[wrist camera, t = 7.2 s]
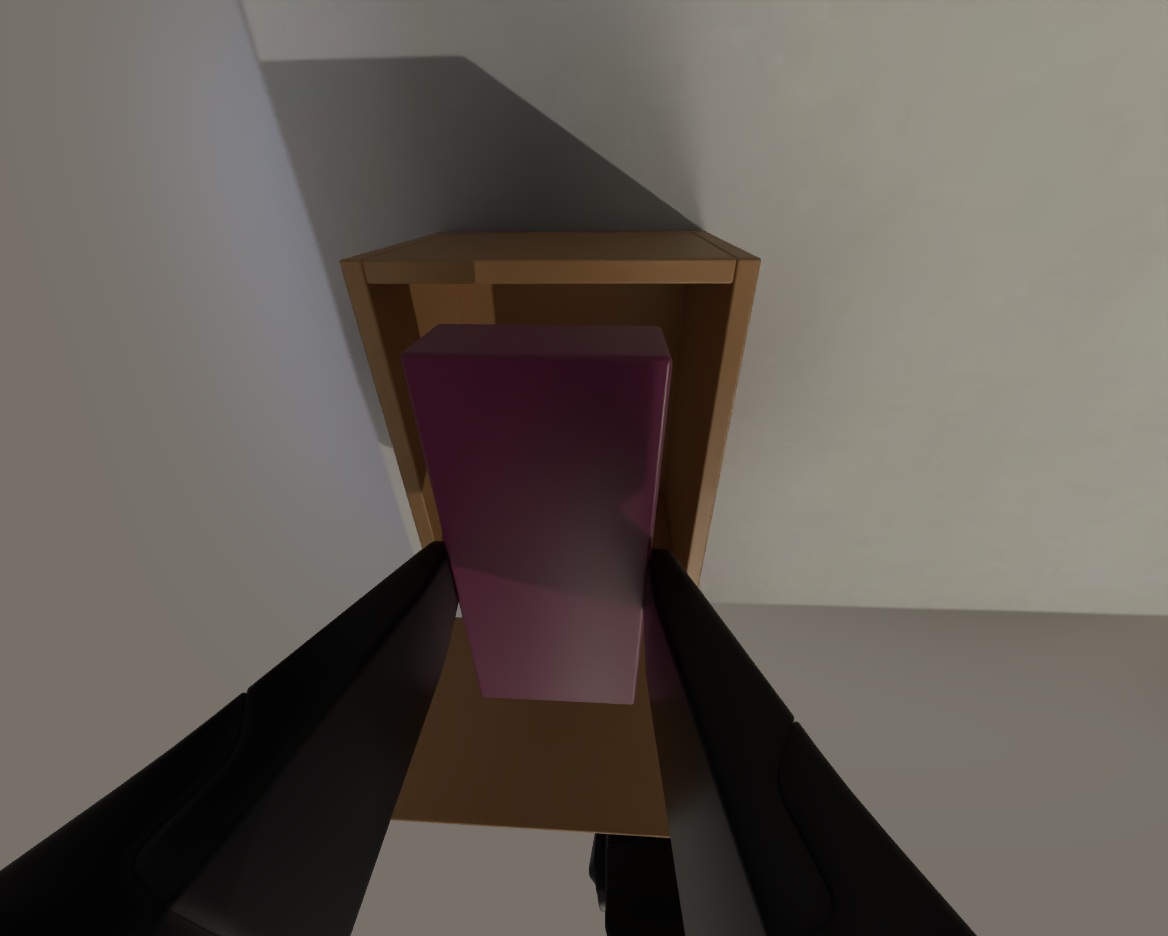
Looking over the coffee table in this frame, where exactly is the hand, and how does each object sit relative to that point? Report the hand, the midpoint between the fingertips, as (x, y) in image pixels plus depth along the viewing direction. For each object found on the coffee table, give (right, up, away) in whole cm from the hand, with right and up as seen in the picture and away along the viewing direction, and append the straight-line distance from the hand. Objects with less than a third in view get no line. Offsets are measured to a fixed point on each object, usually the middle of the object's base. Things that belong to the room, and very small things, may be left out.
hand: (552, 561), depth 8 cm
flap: (0, -5, +5) cm, 7 cm away
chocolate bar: (0, +1, +1) cm, 1 cm away
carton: (0, +5, +10) cm, 11 cm away
